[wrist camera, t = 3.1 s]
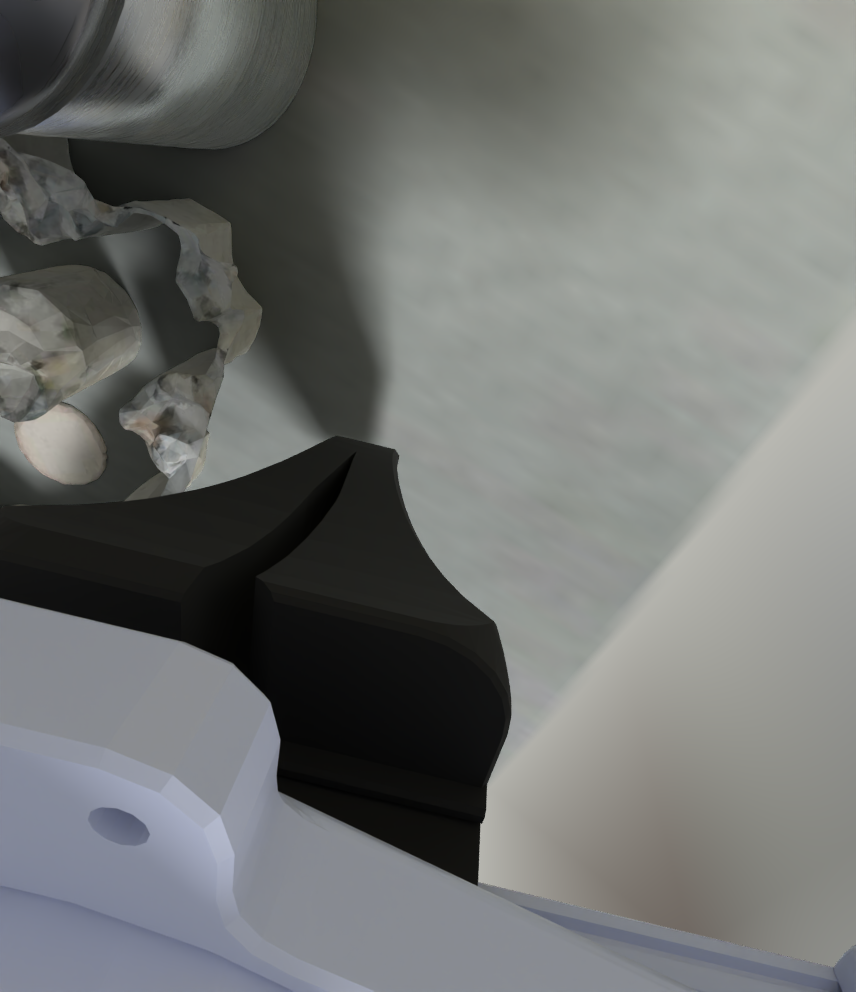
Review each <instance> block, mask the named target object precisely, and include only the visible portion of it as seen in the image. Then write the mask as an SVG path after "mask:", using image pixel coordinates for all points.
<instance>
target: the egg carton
mask: <svg viewBox="0 0 856 992" xmlns="http://www.w3.org/2000/svg"><path fill="white" fill-rule="evenodd" d="M0 211H1V214H2V216H3V218H4V220H5V221H6V222H7V223H8V224H9V225H10V226H12V227H13V228H14V229H15V230H16V231H17V232H18V233H21V235H25V236H27V237H28V238H29V239H30V240H31V241H33V242H34V243H35V244H39V245H46V244H50V243H53V242H57V241H61V240H65V239H73V240H74V241H77V240H80V239H83V238H89V237H96V236H104V235H110V234H118V233H126V232H133V231H139V230H147V229H152V228H156V227H158V226H160V225H161V224H163V223H164V224H165V225H167V226H168V227H169V228H171V229H172V230H173V231H175V232H176V233H177V234H178V236H179V239H180V243H181V252H180V258H179V262H178V266H177V272H176V280H175V281H176V283H177V284H178V286H179V288H180V289H181V291H182V292H183V294H184V295H185V297H186V299H187V300H188V303H189V306H190V309H191V311H192V314H193V317H194V320H196V321H199V322H200V321H211V322H212V323H213V324H215V325H216V326H218V327H219V332H220V336H219V340H218V345H217V348H212V349H209V350H206V351H204V352H201V353H198V354H197V355H195V356H194V357H192V358H190V359H189V360H187V361H185V362H183V363H181V364H180V365H178V366H176V367H174V368H172V369H170V370H168V371H166V372H165V373H163V374H161V375H159V376H157V377H156V378H154V379H153V380H152V381H150V382H149V383H148V384H146V385H145V386H143V388H142V389H141V390H140V391H139V393H138V394H137V395H136V396H135V397H134V398H133V399H132V400H130V401H129V402H128V403H127V404H125V405H124V406H123V407H122V408H120V411H119V423H120V424H121V425H122V427H123V428H124V429H126V430H132V431H134V432H135V433H137V434H138V435H140V437H141V438H142V439H143V440H144V441H145V442H146V445H147V448H148V451H149V454H150V457H151V459H152V461H153V462H154V464H155V465H156V466H157V468H158V469H159V470H160V471H161V472H160V473H158V474H157V475H155V476H153V477H152V478H151V479H149V480H148V481H147V482H145V483H144V484H143V485H141V486H140V487H139V488H138V489H136V490H135V491H134V492H133V493H132V494H131V495H130V496H129V497H128V498H127V499H125V500H124V501H130V500H139V499H147V498H154V497H159V496H165V495H170V494H176V493H181V492H184V491H185V489H186V488H187V487H189V486H190V485H191V483H192V481H193V480H194V479H196V478H197V477H198V476H199V474H200V473H201V472H202V470H203V467H204V464H205V458H206V449H207V442H208V439H209V432H207V431H206V430H207V426H208V423H209V420H210V416H211V413H212V410H213V406H214V403H215V400H216V397H217V394H218V391H219V389H220V386H221V383H222V380H223V377H224V365H225V364H228V363H230V362H232V361H233V360H234V359H235V357H237V356H240V355H243V354H245V353H247V352H248V350H249V348H250V346H251V344H252V343H253V341H254V340H255V338H256V336H257V332H258V330H259V327H260V322H261V317H262V307H261V306H260V305H259V304H258V303H257V302H256V301H255V300H254V299H253V298H252V297H251V296H250V295H249V294H248V293H247V291H246V290H245V288H244V287H243V285H242V284H241V282H240V280H239V279H238V277H237V274H238V269H237V266H235V265H234V263H233V258H232V240H231V238H232V231H231V223H230V222H228V221H227V220H225V219H224V218H222V217H221V216H219V215H218V214H216V213H215V212H213V211H211V210H209V209H207V208H205V207H203V206H202V205H201V204H199V203H197V202H195V201H194V200H192V199H188V198H186V199H172V200H169V201H161V200H153V201H143V202H140V201H133V202H130V203H126V204H123V205H120V206H119V207H113V206H110V205H108V204H105V203H103V202H100V201H98V200H95V199H94V198H93V196H92V195H91V193H90V191H89V190H88V188H87V186H86V184H85V182H84V181H83V180H82V179H81V178H79V177H78V176H77V175H76V174H75V173H74V171H73V168H72V165H71V160H70V156H69V148H68V139H67V138H61V137H49V136H37V135H25V134H14V135H11V136H5V137H0ZM141 334H142V327H141V323H140V320H139V316H138V312H137V309H136V308H135V305H134V304H133V302H132V300H131V298H130V297H129V296H128V294H127V293H126V292H125V290H124V289H123V288H121V287H120V286H119V285H118V284H117V283H116V282H115V281H114V280H113V279H112V278H111V277H110V276H109V275H107V274H106V273H105V272H102V271H98V270H97V269H95V268H92V267H89V266H83V265H61V266H55V267H50V268H45V269H40V270H35V271H30V272H25V273H20V274H14V275H9V276H4V277H0V415H1V417H3V418H5V419H8V420H10V421H12V422H15V424H14V429H15V436H16V439H17V442H18V445H19V448H20V450H21V451H22V453H23V454H24V455H25V457H26V458H27V460H28V461H29V462H30V463H31V464H32V465H33V466H34V467H35V468H36V469H37V470H38V471H39V472H40V473H41V474H43V475H45V476H47V477H49V478H51V479H53V480H56V481H58V482H60V483H62V484H64V485H65V484H71V485H86V484H88V483H90V482H92V481H95V480H97V479H99V477H100V476H101V475H102V473H103V472H104V470H105V469H106V459H107V458H108V456H107V455H106V452H107V448H106V446H105V443H104V441H103V438H102V436H101V434H100V433H99V431H98V429H97V428H96V426H95V425H94V424H93V423H92V422H91V421H90V419H89V418H88V417H87V416H86V415H85V414H83V413H82V412H80V411H79V410H78V409H76V408H75V407H73V406H71V405H68V404H65V403H63V402H61V401H63V400H64V399H66V398H68V397H70V396H72V395H74V394H76V393H78V392H80V391H82V390H83V389H85V388H87V387H89V386H91V385H93V384H95V383H97V382H98V381H100V380H102V379H104V378H106V377H108V376H110V375H112V374H114V373H116V372H117V371H119V370H121V369H122V368H124V367H126V366H127V365H128V364H130V363H131V361H133V360H134V359H135V358H136V356H137V354H138V352H139V348H140V345H141ZM13 506H30V505H25V504H18V505H13Z"/></svg>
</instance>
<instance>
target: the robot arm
mask: <svg viewBox="0 0 856 992" xmlns="http://www.w3.org/2000/svg"><path fill="white" fill-rule="evenodd" d="M398 459H399V455H398V453H397V452H396V450H395V449H391V448H387V447H383V446H378V445H374V444H370V443H366V442H361V441H357V440H353V439H349V438H345V437H340V436H335V437H332V438H330V439H328V440H326V441H324V442H321V443H319V444H317V445H315V446H313V447H311V448H309V449H307V450H305V451H303V452H301V453H299V454H297V455H294V456H292V457H290V458H288V459H286V460H284V461H282V462H279V463H276V464H274V465H271V466H269V467H266V468H264V469H261V470H259V471H256V472H254V473H251V474H249V475H246V476H243V477H240V478H237V479H234V480H231V481H227V482H224V483H220V484H217V485H213V486H209V487H205V488H201V489H197V490H192V491H187V492H181V493H176V494H170V495H165V496H159V497H154V498H147V499H139V500H130V501H122V502H110V503H98V504H81V505H30V506H12V505H5V506H3V507H1V508H0V992H856V945H854V946H852V947H851V948H850V949H849V950H848V951H846V952H845V953H844V954H843V956H842V957H841V958H840V959H839V960H838V962H837V963H836V965H835V966H834V967H830V966H826V965H822V964H818V963H813V962H809V961H805V960H801V959H797V958H792V957H788V956H784V955H780V954H776V953H772V952H767V951H763V950H759V949H755V948H751V947H746V946H742V945H738V944H734V943H730V942H726V941H722V940H717V939H713V938H709V937H704V936H701V935H697V934H692V933H688V932H684V931H680V930H676V929H671V928H667V927H663V926H659V925H655V924H651V923H647V922H642V921H638V920H634V919H630V918H626V917H621V916H617V915H613V914H608V913H605V912H601V911H596V910H592V909H588V908H584V907H580V906H576V905H571V904H567V903H563V902H559V901H555V900H551V899H546V898H542V897H538V896H534V895H530V894H525V893H521V892H517V891H513V890H508V889H505V888H501V887H496V886H492V885H488V884H484V883H479V882H478V870H479V844H480V823H481V824H482V822H483V820H484V818H485V812H486V796H487V783H488V780H489V778H490V776H491V773H492V771H493V768H494V766H495V764H496V761H497V759H498V756H499V754H500V752H501V749H502V747H503V744H504V742H505V739H506V737H507V734H508V730H509V725H510V720H511V693H510V685H509V678H508V672H507V667H506V662H505V657H504V652H503V648H502V644H501V640H500V636H499V633H498V629H497V626H496V624H495V622H494V621H493V620H491V619H490V618H489V617H488V616H487V615H485V614H484V613H483V612H482V611H480V610H479V609H478V608H477V607H476V606H474V605H473V604H472V603H471V602H469V601H468V600H467V599H466V598H465V597H463V596H462V595H461V594H460V593H459V592H458V591H457V590H456V589H455V587H454V586H453V585H452V584H451V583H450V582H449V581H448V580H447V579H446V578H445V577H444V576H443V575H442V573H441V572H440V571H439V569H438V568H437V567H436V566H435V564H434V563H433V562H432V560H431V559H430V558H429V556H428V554H427V553H426V551H425V549H424V548H423V546H422V544H421V542H420V540H419V539H418V537H417V535H416V533H415V531H414V528H413V526H412V524H411V521H410V519H409V516H408V513H407V511H406V508H405V505H404V502H403V498H402V494H401V490H400V486H399V481H398V473H397V464H398Z"/></svg>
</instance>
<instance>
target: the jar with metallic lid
mask: <svg viewBox="0 0 856 992" xmlns="http://www.w3.org/2000/svg"><path fill="white" fill-rule="evenodd" d="M316 21H317V0H0V137H5V136H11V135H14V134H25V135H37V136H49V137H61V138H73V139H85V140H97V141H109V142H121V143H133V144H145V145H157V146H169V147H181V148H193V149H222V148H228V147H233V146H236V145H239V144H242V143H245V142H247V141H249V140H251V139H253V138H255V137H257V136H259V135H260V134H262V133H263V132H264V131H265V130H267V129H268V128H269V127H271V126H272V125H273V124H274V123H275V122H276V121H277V120H278V119H279V118H280V117H281V115H282V114H283V113H284V112H285V111H286V109H287V108H288V106H289V105H290V103H291V102H292V101H293V99H294V97H295V95H296V94H297V92H298V90H299V88H300V86H301V84H302V82H303V79H304V76H305V74H306V71H307V68H308V66H309V62H310V58H311V54H312V50H313V46H314V38H315V31H316Z"/></svg>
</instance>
